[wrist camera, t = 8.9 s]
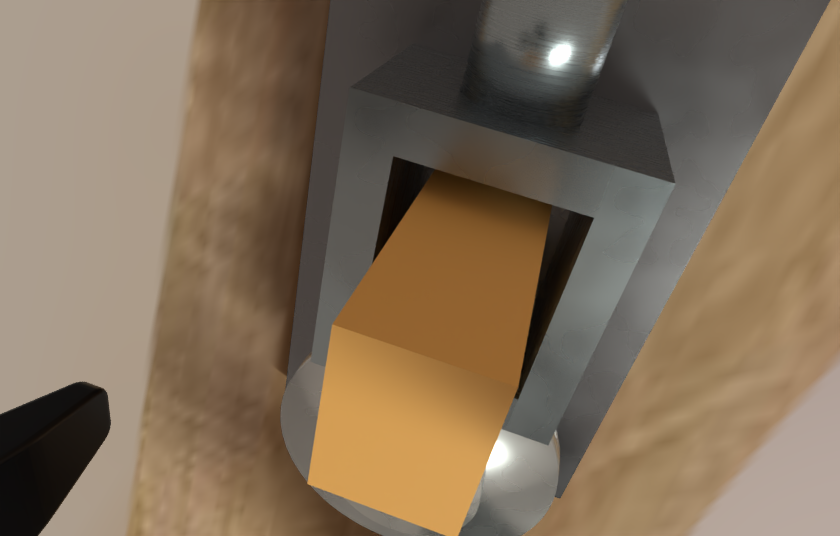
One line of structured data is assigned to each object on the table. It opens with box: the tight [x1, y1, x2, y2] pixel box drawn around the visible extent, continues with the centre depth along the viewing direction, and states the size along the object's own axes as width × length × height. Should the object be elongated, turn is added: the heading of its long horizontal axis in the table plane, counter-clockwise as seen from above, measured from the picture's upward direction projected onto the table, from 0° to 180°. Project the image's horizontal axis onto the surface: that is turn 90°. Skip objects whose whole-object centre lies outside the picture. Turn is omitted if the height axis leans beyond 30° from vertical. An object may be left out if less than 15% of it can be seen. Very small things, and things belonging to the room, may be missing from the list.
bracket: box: [280, 0, 830, 536], centre depth 18 cm, size 12×20×6 cm, turn 168°
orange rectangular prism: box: [307, 169, 552, 536], centre depth 14 cm, size 3×4×10 cm
